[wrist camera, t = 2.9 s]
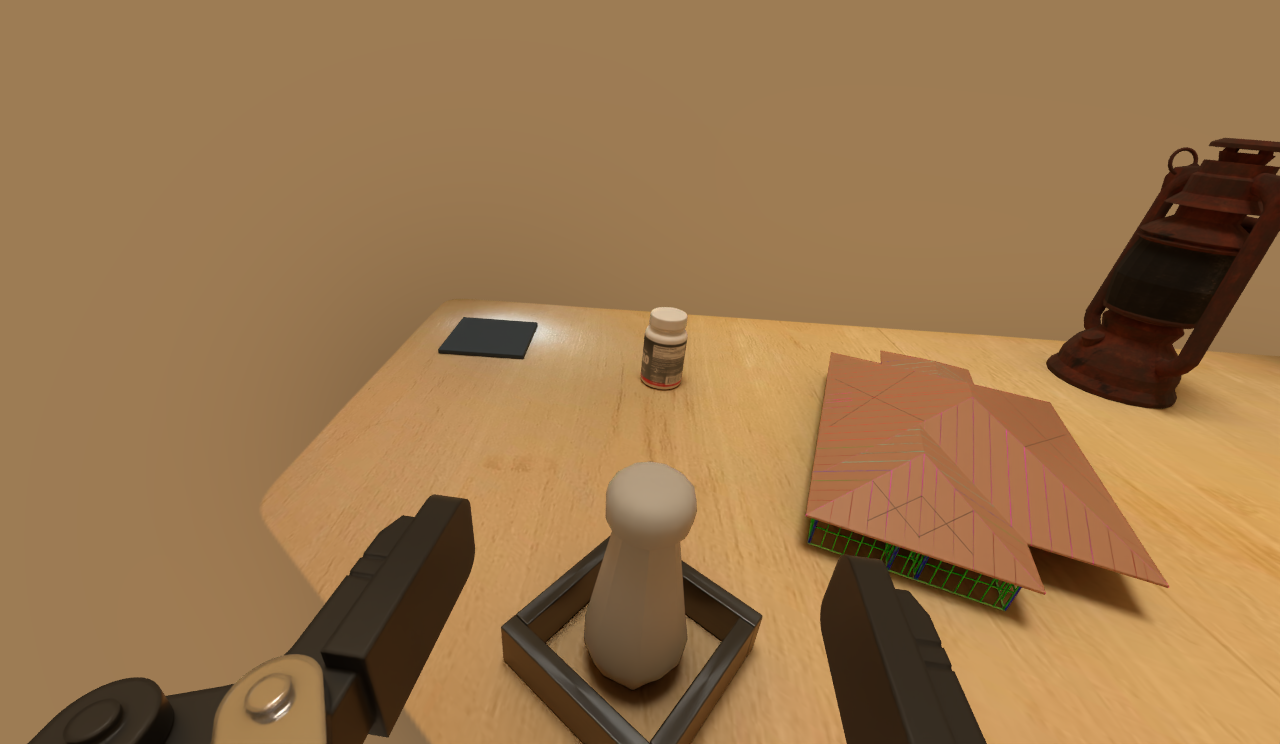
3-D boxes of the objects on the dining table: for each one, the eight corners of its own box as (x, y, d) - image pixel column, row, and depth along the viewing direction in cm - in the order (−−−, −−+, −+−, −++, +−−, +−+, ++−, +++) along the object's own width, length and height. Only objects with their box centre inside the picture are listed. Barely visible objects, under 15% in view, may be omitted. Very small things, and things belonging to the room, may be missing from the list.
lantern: (1017, 348, 76) (1126, 130, 61) (1110, 358, 75) (1241, 141, 61) (1102, 409, 61) (1273, 139, 46) (1218, 422, 60) (1427, 154, 46)
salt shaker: (687, 620, 31) (720, 456, 25) (675, 717, 26) (714, 542, 20) (596, 599, 32) (607, 435, 26) (568, 690, 27) (574, 513, 21)
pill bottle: (642, 368, 60) (648, 303, 56) (681, 372, 60) (690, 307, 56) (638, 387, 56) (645, 319, 52) (680, 392, 56) (690, 324, 52)
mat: (523, 359, 60) (523, 355, 59) (438, 353, 59) (437, 349, 59) (537, 325, 68) (537, 322, 68) (463, 320, 68) (463, 317, 68)
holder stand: (647, 810, 23) (653, 779, 21) (503, 660, 28) (500, 626, 27) (753, 646, 30) (763, 615, 29) (623, 552, 35) (625, 521, 34)
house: (1029, 415, 58) (1063, 352, 54) (1174, 679, 30) (1266, 591, 27) (825, 366, 64) (843, 308, 61) (795, 547, 37) (823, 461, 33)
